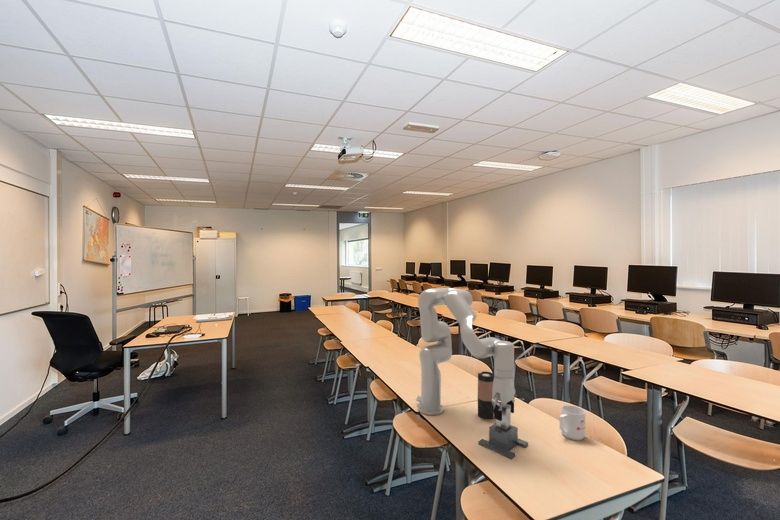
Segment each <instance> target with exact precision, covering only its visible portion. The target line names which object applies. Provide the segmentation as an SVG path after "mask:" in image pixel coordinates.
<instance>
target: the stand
mask: <svg viewBox="0 0 780 520" xmlns="http://www.w3.org/2000/svg"><path fill="white" fill-rule="evenodd" d="M518 432H519V431H518V427H517V426H514V425H512V424H511V429H509V430H508V431H506V432H505V431H503V430H501V429H499V428H496V422H495V423H494V424H492V425H490V426H488V440H487V439H484V438H481V439H479V441H478V445H479V446H481V447H484V448H485V449H487V450H490V451H492V452H494V453H497V454H498V455H501V456H503V457H505V458H507V459H509V460H513V459H514V458H515V457H516V452H513V451H512V450H514V449H515V448H516V447H517V446H518V447H521V448H523V449H526V448H527V447H528V446H529V442H528V441H526V440H523V439H521V438H519V436H518Z"/></svg>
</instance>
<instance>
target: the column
mask: <svg viewBox="0 0 780 520" xmlns="http://www.w3.org/2000/svg"><path fill="white" fill-rule="evenodd" d="M497 405H498V406H499V405H500V404H498V403H497ZM501 410H502V421H499V420H497V419H495V421H496V422H495V423H496V428H499V429H501V430H503V431H505V432H506V431H508V430H509V429H511V425H512V424H511V423H512V421H511V420H512V416H511V415H512V413H511V405H509V404H503V405H502V408H501Z"/></svg>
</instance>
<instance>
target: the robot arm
mask: <svg viewBox="0 0 780 520" xmlns="http://www.w3.org/2000/svg"><path fill="white" fill-rule="evenodd" d="M473 301H474V299H473V296H472V293H471V292H470V291H469V290H466V289H462V288H453V287H435V288H434V287H432V288H427V289H425V290H423V291H421V292H420V294H419V296H418V300H417V305H418V310H419V315H420V333H421V334H420V335H421V339H422V341H423V342H425V343H429V344H428V345H426V346H424V347H422V348H421V350H419V355H418V356H419V361H420V370H421V372H420V379H421V381H420V382H421V385H420V389H421V390H420V392H421V393H420V395H417V397H416V398H415V401H416V402H418V406H417V410H418V412H420V413H422V414H424V415H426V416H427V415H428V416H439V415H440V414H442V413H444V410H445V409H444V405H442V404H441V403H442V402H441V397H442V395H441V394H442V392H441V390H442V389H441V387H442V382H441V381H442V374H441V370H440V368H439V366H438V365H439V364H443V363H446V362H448V361H450V360H451V359H452V355H453V347H452V346H453V345H452V332H451V329H450V326H449V324H448V323H447V322H445V321H443V320H442V321H441V320H440V321H439V319H438V312H437V310H436V308H435V307H436V306H446V307H447V308H448V310H449V311H450V313H451V314H452V315H453V317H454V319H455V320H456V321H457V323H458V325H459V327H460V330H459V331H460V337H461V340H462V343H463V345H464V347H466V349H467V350H468V352H469V353H470V354H471V355H472V356H473V357H474V358H476V359H485V358H489V357H493V358H494V360H493V362H494V363H493V366H494V368H493V371H494V372H493V374H494V381H493V391H492V406H493V409H494V417H493V419H495V420H496V419H497V420H499V421H502V410H501V408H502V405H503V404H509V405H511V414H514V413H515V403H516V402H515V398H516V389H515V345H514V343H512V342H511V341H508V340H501V339H499V338H497V337H492V336H488V337H484V338H479V337H478V336H477V335H476V333H475V331H474V328H473V323H474V321H476V320H477V314H476V312H475V311H474V309H473V308H472V307H471V306H472V304H473ZM434 342H435V343H434ZM430 343H434V344H430ZM497 404H500V405H499V406H498V405H497Z"/></svg>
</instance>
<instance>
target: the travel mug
mask: <svg viewBox="0 0 780 520" xmlns="http://www.w3.org/2000/svg"><path fill="white" fill-rule="evenodd" d="M494 377H495V376H494V372H490V371H481V372H478V373H477V416H478V417H479V418H480V419H482V420H486V421H489V420H493V419H494V409H493V406H492V391H493V381H494Z"/></svg>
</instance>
